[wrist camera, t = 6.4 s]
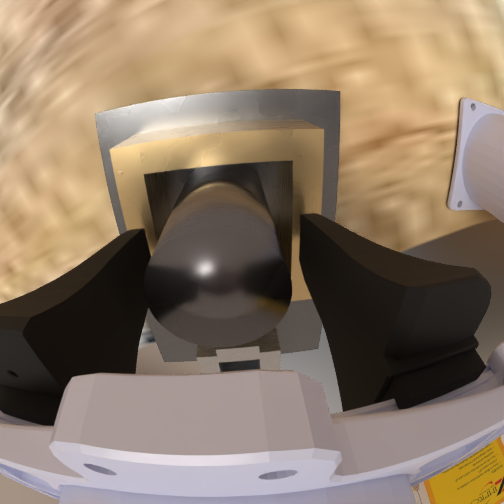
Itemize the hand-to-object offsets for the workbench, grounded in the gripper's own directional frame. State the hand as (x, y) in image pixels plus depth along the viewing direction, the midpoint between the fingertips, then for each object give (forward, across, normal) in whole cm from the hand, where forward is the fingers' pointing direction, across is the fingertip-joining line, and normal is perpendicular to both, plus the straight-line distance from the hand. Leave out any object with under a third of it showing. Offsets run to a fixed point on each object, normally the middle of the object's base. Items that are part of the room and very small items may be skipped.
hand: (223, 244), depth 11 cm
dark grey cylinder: (+4, 0, 0) cm, 4 cm away
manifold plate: (+5, 0, +4) cm, 6 cm away
